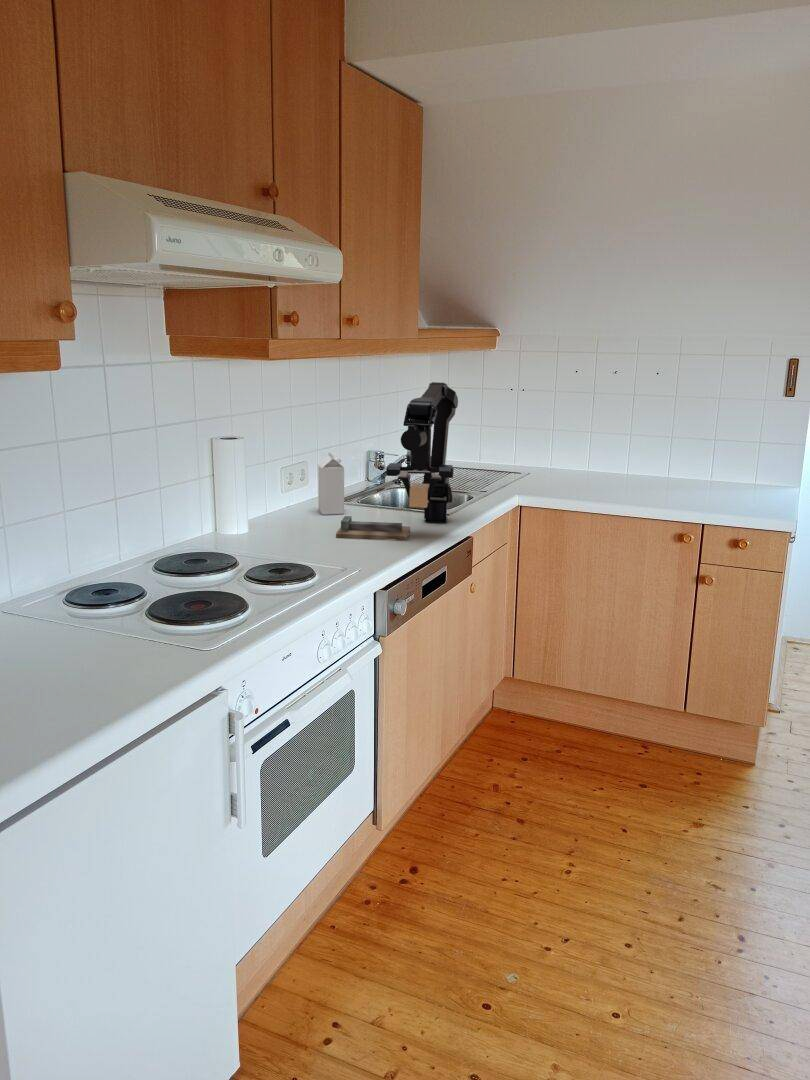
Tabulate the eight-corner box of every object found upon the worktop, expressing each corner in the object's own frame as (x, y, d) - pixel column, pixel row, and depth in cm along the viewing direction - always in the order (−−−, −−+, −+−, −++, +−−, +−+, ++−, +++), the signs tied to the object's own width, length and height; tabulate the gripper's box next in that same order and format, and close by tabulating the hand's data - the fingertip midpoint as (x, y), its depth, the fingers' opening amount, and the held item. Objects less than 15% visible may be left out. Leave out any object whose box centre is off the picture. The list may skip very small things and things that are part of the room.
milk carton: (322, 515, 264) (321, 455, 259) (318, 510, 271) (317, 452, 266) (344, 514, 266) (344, 454, 261) (340, 509, 272) (339, 451, 268)
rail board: (410, 530, 247) (410, 516, 246) (406, 540, 235) (406, 526, 234) (342, 527, 248) (342, 514, 247) (336, 537, 237) (335, 523, 236)
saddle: (429, 500, 242) (429, 483, 241) (427, 507, 234) (427, 490, 233) (411, 500, 243) (412, 483, 242) (409, 506, 234) (409, 489, 233)
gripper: (455, 442, 241) (453, 495, 245) (390, 440, 243) (389, 493, 247) (453, 448, 230) (451, 503, 234) (386, 446, 232) (385, 501, 236)
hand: (419, 500), depth 238 cm, fingers closed on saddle, 5 cm apart
